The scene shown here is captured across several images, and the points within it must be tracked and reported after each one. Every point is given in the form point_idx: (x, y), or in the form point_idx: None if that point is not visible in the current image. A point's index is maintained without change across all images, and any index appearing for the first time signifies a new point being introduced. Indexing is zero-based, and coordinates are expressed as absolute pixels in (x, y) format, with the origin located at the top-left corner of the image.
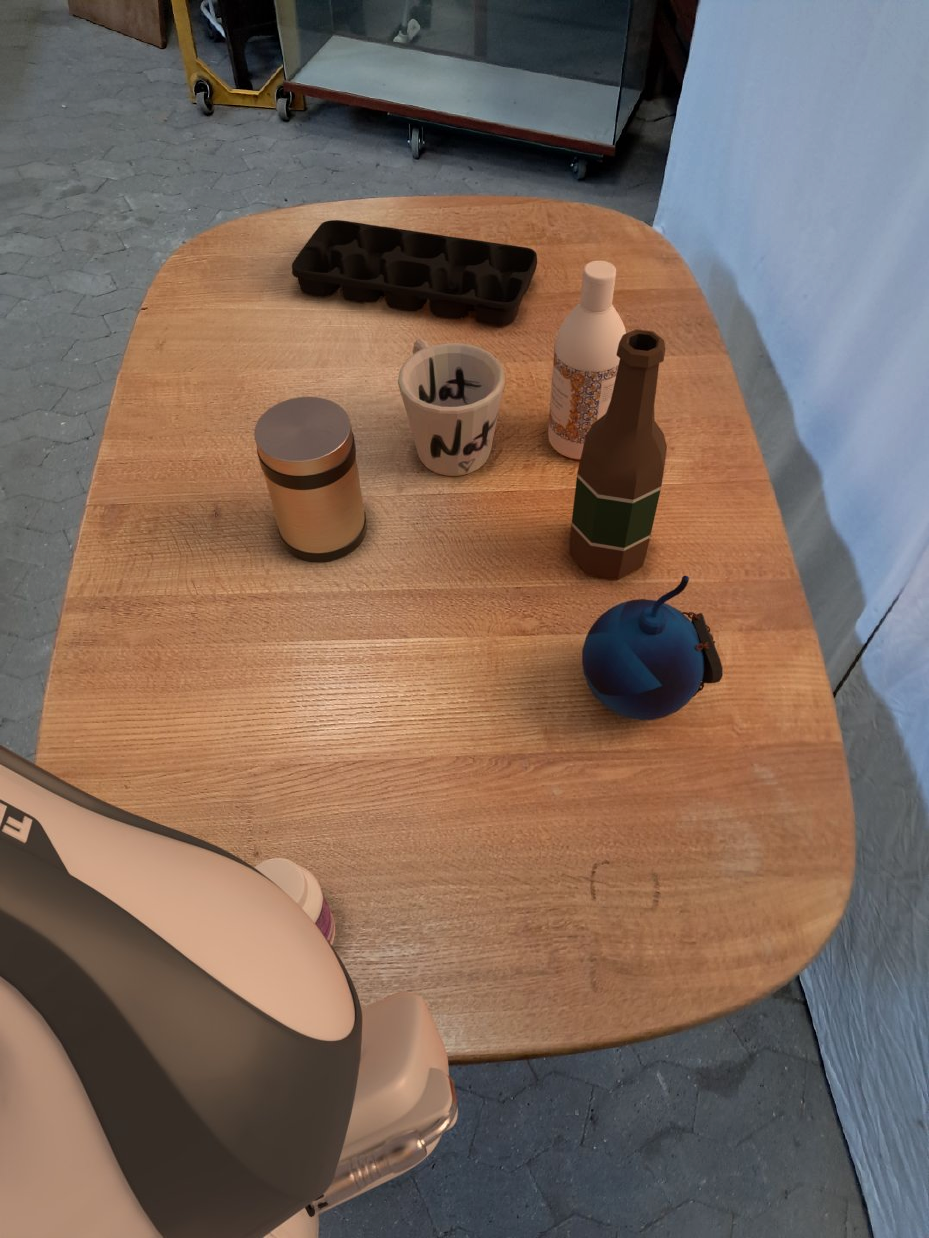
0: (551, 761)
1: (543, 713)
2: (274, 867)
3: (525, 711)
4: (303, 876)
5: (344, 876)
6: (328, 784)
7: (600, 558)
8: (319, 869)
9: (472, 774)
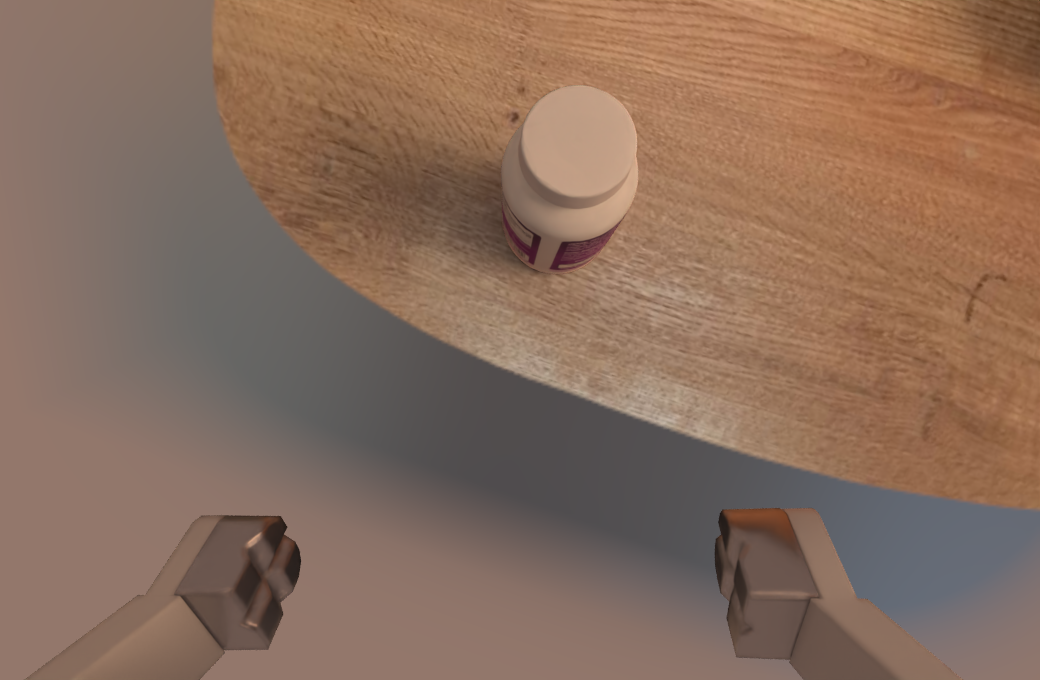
0: (978, 105)
1: (993, 27)
2: (588, 105)
3: (967, 14)
4: (636, 140)
5: None
6: (647, 23)
7: None
8: None
9: (858, 83)
